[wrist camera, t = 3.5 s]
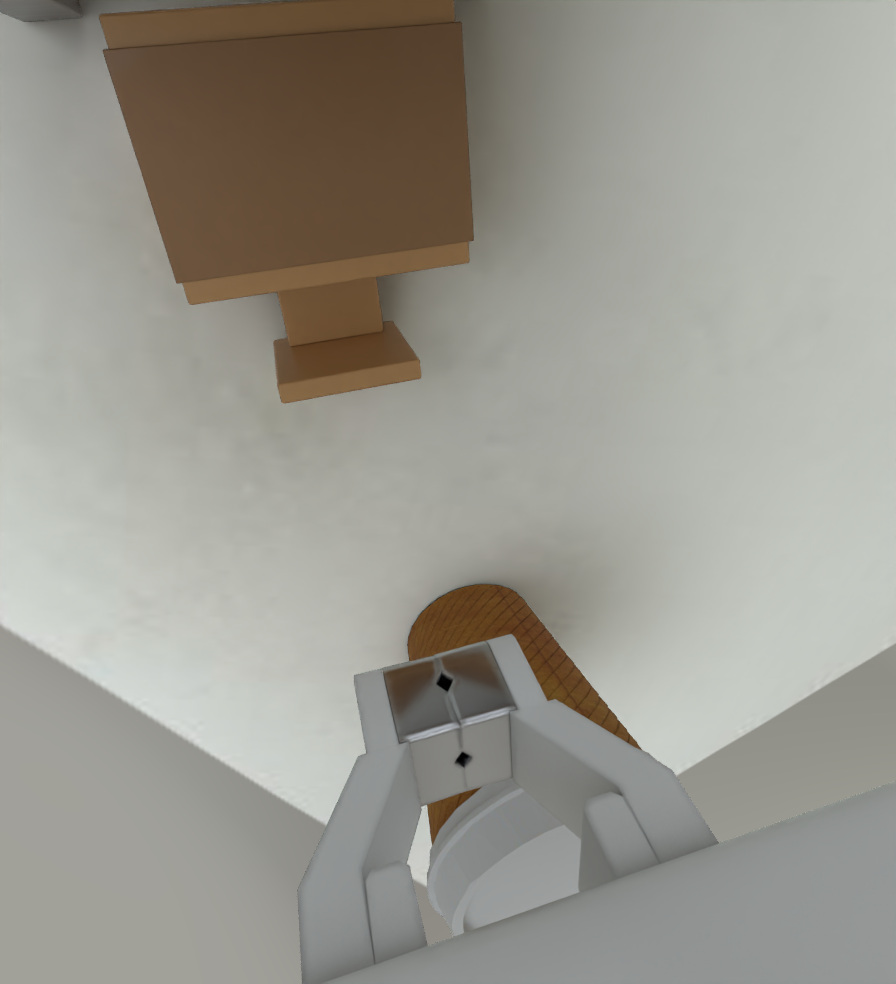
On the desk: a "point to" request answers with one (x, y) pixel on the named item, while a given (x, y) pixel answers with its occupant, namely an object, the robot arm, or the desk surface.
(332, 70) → the wooden drawer
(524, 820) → the disposable coffee cup
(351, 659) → the desk surface
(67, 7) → the drawer unit
